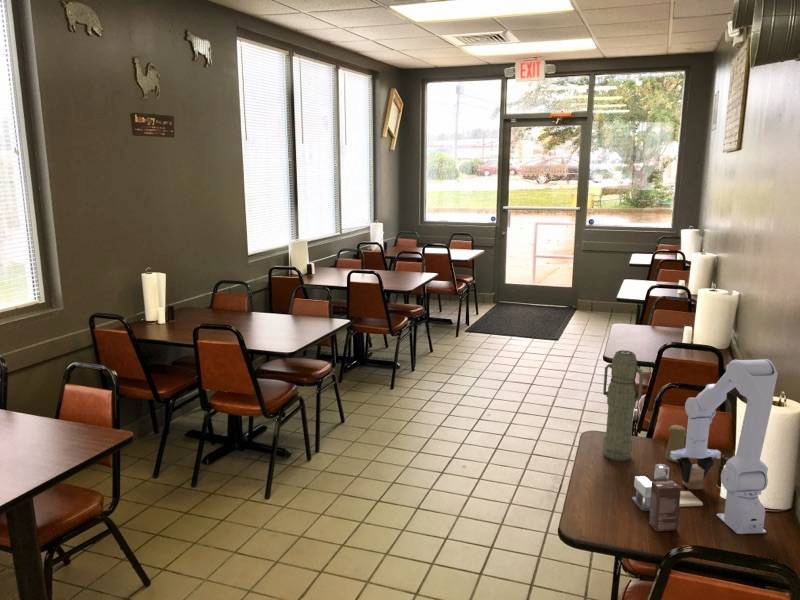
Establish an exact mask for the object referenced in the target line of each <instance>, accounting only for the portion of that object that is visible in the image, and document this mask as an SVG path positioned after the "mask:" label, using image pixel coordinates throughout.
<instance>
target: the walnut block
mask: <svg viewBox="0 0 800 600" xmlns="http://www.w3.org/2000/svg"><path fill="white" fill-rule="evenodd" d="M692 464H693V463H692ZM703 478H704V469H702V468H701V467H700V466H699V465H698V463H694V464H693V465H692V467H691V470H690V475H689V481H688V483H686V482H684V481H683V480H682V479H681V484H682V485H684V486H685V488H687V489H688V490H703V487H704V480H703ZM704 479H705V478H704Z"/></svg>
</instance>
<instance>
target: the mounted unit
mask: <svg viewBox="0 0 800 600" xmlns="http://www.w3.org/2000/svg"><path fill="white" fill-rule="evenodd" d="M633 483H634V484H633V487H634V488H635V491H636V492H635V496H631V501H632V502H634V504H635V505H637V507H638V508H639V509H640V510H641V511H642V512H650V502H651V486H652V481H651V480H650V479H649V478H648V477H646V476H645V475H642V476H641V475H640V476H637V475H636V476H634V481H633Z"/></svg>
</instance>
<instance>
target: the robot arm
mask: <svg viewBox="0 0 800 600" xmlns="http://www.w3.org/2000/svg"><path fill="white" fill-rule="evenodd" d="M778 375H779V373H778V371H777V369H776V367H775V365H774V363H773V361H771V360H770V359H767V358H761V359H733V360H731V361H730V362H728V364H726V367H725V372H724V374H723V375H722V376H721V377H720V378H719V380H718V381H717V382H716V383H707V384H706V385H705V388H704V389H703V390H702V391H701V392H699V393H698V394H697V395H696V397H688V398H687V399H686V401H685V403H684V404H685V405H684V409H685V414H686V415H687V416H688V417H687V425H686V426H687V427H686V428H687V429H686V436H685V437H686V438H685V445H684V448H685V449H680V450H676V451H670V457H671V458H672V459H673V460H676V459H677V461H678V462H677V463H678V465H679V468H680V473H681V478H682V479H681V481H682V480H683V481H684V482H686V483H688V481H689V475H690V470H691V467H692V465H693V463H692V462H691V460H690V459H696V461H697V463H696V464H697V465H699V466H700V467H701V468H702V469H704V478H703V481H705V478H706V475H707V474H708V472H709V471H710V470H711V468H712V467H713V466H714V464H715V461H714V460H713V459H719V460H720V459H721V455H722V452H721V451H720V450H718V449H709V448H708V443H709V432H710V424H712V423H713V418H714V417H715V415H716V413H717V408H718V407H719V406H721V404H723V403H724V402H725V401H726V400H727V396H728V394H727V393H729V392H731V390H733V389H734V388H736V390H737V391H738V393H739V394H740V395H741V396H743V397H745V398H746V407H745V411H744V414H743V421H742V425H741V430H740V435H739V438H738V439H739V440H738V444H737V450H736V454H734V455H732V457H730V458H728V460H726V462H725V465H724V467H723V469H722V470H721V472H720V482H721V484H722V486H723V488H724V489H725V490H726V496H725V497H726V498H725V505H724V512H723V513H717V514H716V517H718V518H719V519H720V521H722V522H723V523H724V524H725V525H727V526H728V527H729V528H730V529H731V530H732V531H733V532H735V533H736V534H737V535H739V534H740V535H745V534H766V533H767V530H766V529H764V526H765V519H766V518H765V517H766V509H765V506H764V504H763V503H762V502H761V500H760V498H759V496H760V495H762V491H764V490H766V489H767V487H768V483H769V479H768V472H769V471H768V470H769V468H768V466H767V465H766V464H765V462H763V460H761V458H762V457H761V456H762V451H763V448H764V447H763V446H764V442H765V438H766V434H767V428H768V425H769V420H770V417H771V415H770V414H771V411H772V408H773V406H772V405H773V402H774V393H775V389H776V383H777V379H778ZM712 458H713V459H712Z"/></svg>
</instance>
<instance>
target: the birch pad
mask: <svg viewBox="0 0 800 600" xmlns="http://www.w3.org/2000/svg"><path fill="white" fill-rule="evenodd" d="M703 505H704V504H703V502H702V501H701V500H700V499H699V498H698V497H697V496H695V495H694V493H693V492H691V491H690V490H681V492H680V505H679V508H681V507H702V506H703Z"/></svg>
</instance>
